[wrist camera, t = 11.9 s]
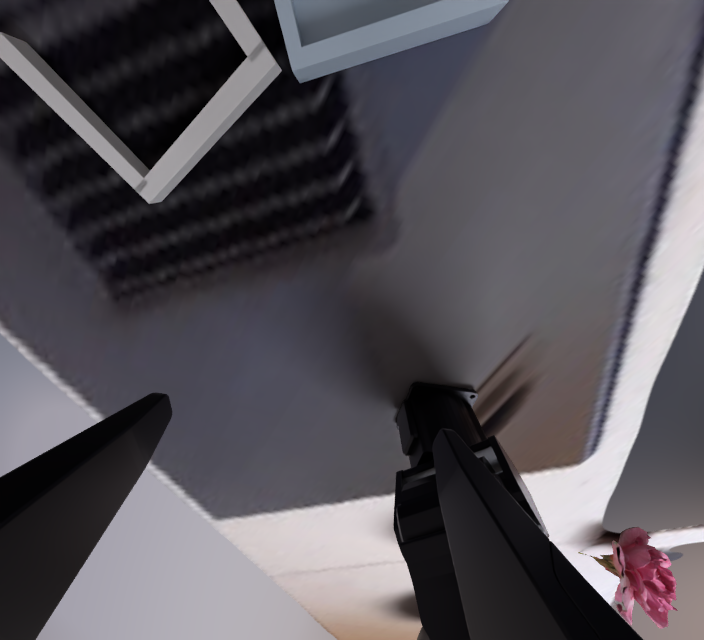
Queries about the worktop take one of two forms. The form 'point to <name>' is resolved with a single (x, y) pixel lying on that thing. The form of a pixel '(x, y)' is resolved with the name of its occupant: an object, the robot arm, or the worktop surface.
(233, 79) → the frame
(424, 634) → the bowl of black rocks
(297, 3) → the tray
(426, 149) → the worktop surface
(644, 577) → the flower
